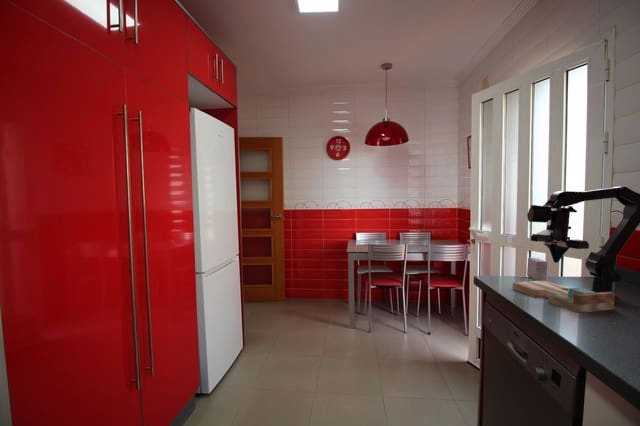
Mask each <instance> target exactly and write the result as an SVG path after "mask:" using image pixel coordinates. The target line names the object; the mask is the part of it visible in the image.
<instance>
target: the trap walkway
mask: <svg viewBox="0 0 640 426" xmlns="http://www.w3.org/2000/svg"><path fill="white" fill-rule="evenodd" d="M511 288H512V290H515V291H517V292H521V293H523V294H525V293H526V295H529V296H530V297H534V298H538V297H539V298H540V297H546V298H547V299H548V300H547V302H548V303H549V304H552V305H555V306H557V307H561V308H563V309H566V310H569V311H570V312H571V311H572V312H573V313H579V314H581V313H590V312H591V313H592V312H598V311H609V310H610V311H611V310H614V307H615V299H616V297H615V294H616V293H615V292H614V293H613V292H600V293H588V294H575V295H574V299H573V298H570V297H568V290H569V288H570V287H567V286H564V285H560V284H557V283H553V282H551V281H547V280H546V281H536V280H533V281H530V280H529V281H514V282H512V287H511Z"/></svg>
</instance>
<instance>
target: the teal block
mask: <svg viewBox="0 0 640 426" xmlns="http://www.w3.org/2000/svg"><path fill="white" fill-rule="evenodd" d="M568 288H569V289H568V297H570V298H573V299H574V295H575V294H588V293H596V292H593V291H589V289H585V288H582V287H571V288H570V287H568Z"/></svg>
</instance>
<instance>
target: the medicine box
mask: <svg viewBox="0 0 640 426" xmlns="http://www.w3.org/2000/svg"><path fill="white" fill-rule="evenodd" d="M547 272H548V262H547V261H545V260H543V259H541V258H539V257H538V258H537V257H527V268H526V276H527V277H529V278H530V277H532V278H531V279H532V280H533V281H547V276H548V275H547Z"/></svg>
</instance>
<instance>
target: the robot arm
mask: <svg viewBox="0 0 640 426" xmlns="http://www.w3.org/2000/svg"><path fill="white" fill-rule="evenodd" d="M614 198H615V199H616V200H617V201H618V202H619V203H620V204H621V205H623V206H624V207H623V209H622V219H621V220H620V222H619V223H618V225H616V228H615V229H614V230H613V232H612V234H611V235H610V236H609V238H608V239H607V240H606V241H605V243H604V245H603V246H602V248H601V249H600V250H599V251H597V252H594V251H590V253H589V254H588V257H587V258H586V259H584V261H585V264H584V266H585V269H587V271H589V274H590V276H593V278H592V279H593V281H592V286H591V289H590V290H589V289H588V290H589V291H593V292H596V293H600V292H613V293H615V292H614V291H615V283H619V282H620V281H621V280H622V276H621V275H620V274H619V273H618V272H617V271H616V270H615V268H616V267H617V257H618V256H619V253H621V251H622V249H623V248H624V247H625V245H626V244H627V242H629V239H630V238H631V237H632V235H633V234H634V233H635V231H636V229H637V228H638V227H639V225H640V192H639V193H638V192H636V191H634V190H632V189H631V188H629V187H628V186H613V187H610V188H609V187H608V188H600V189H592V190H584V191H572V190H571V191H569V190H568V191H565V190H564V191H562V190H561V191H560V190H559V191H554V192H552V193H551V195H550V198H549V199H548V200H547V201H546V202H545V203H544V204H543V205H536V204H530V208H529V209H528V211H527V221H528V222H530V223H544V224H546V223H548V222H549V221H550V223H549V224H548V225H547V226H546V229H544V230H541V231H539V232H537V233H533V234H531V236H530V241H532V242H544V243H543V245H544V246H546V247H547V249H549V252H550V256H551V258H552V260H553V262H554V263H555V264H557V263H559V262H560V261H561V259H562V258H563V256H564V255H565V254H566V252H568V250H569V249H573V250H588V249H589V248H590V243H589V242H588V240H583V239H571V237H570V236H569V230H572V226H569V225H570V216H571V213H577V212H578V210H576V209H575V208H574V207H573V206H575V205H577V204H579V203H582V202H587V201H589V202H590V201H597V200H605V199H606V200H607V199H614ZM616 297H619V294H616V293H615V298H616Z"/></svg>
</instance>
